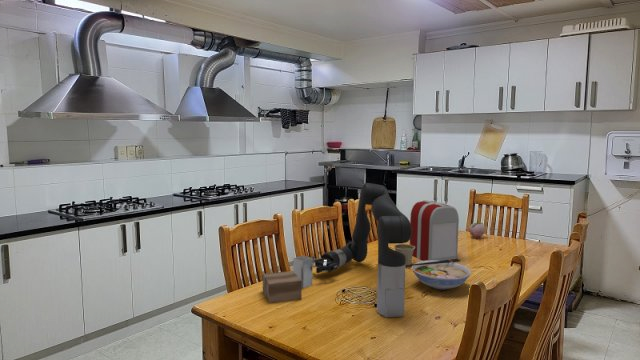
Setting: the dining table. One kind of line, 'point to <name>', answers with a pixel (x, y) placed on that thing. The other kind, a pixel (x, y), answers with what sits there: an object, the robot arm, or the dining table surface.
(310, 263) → the steel tea tin
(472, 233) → the decorative fruit
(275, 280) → the walnut box
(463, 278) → the ramen bowl
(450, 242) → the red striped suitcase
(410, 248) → the flower pot
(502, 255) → the dining table surface
